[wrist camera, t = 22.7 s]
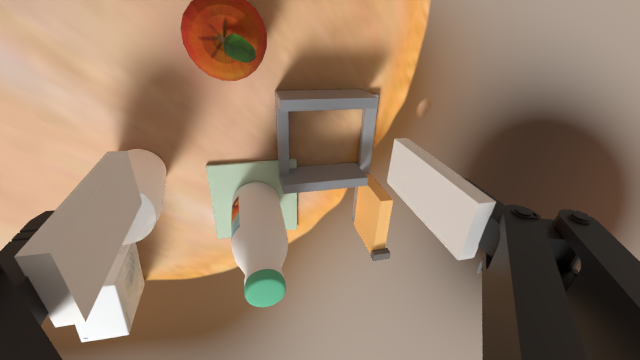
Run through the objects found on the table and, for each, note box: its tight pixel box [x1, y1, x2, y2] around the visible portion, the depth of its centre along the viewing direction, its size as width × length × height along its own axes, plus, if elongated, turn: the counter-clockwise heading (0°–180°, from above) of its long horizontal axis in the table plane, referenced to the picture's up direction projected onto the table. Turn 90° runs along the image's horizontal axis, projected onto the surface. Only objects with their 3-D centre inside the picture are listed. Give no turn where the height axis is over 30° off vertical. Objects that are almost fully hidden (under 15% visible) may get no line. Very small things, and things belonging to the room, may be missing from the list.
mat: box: [206, 158, 297, 239], centre depth 50 cm, size 14×14×1 cm
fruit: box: [181, 0, 267, 81], centre depth 34 cm, size 10×10×10 cm
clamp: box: [275, 89, 379, 222], centre depth 48 cm, size 25×16×6 cm, turn 178°
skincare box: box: [75, 242, 145, 342], centre depth 46 cm, size 10×6×10 cm, turn 174°
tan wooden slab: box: [354, 174, 393, 261], centre depth 50 cm, size 11×3×10 cm, turn 178°
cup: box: [122, 149, 166, 245], centre depth 39 cm, size 9×9×12 cm
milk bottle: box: [231, 182, 288, 307], centre depth 42 cm, size 8×8×20 cm
